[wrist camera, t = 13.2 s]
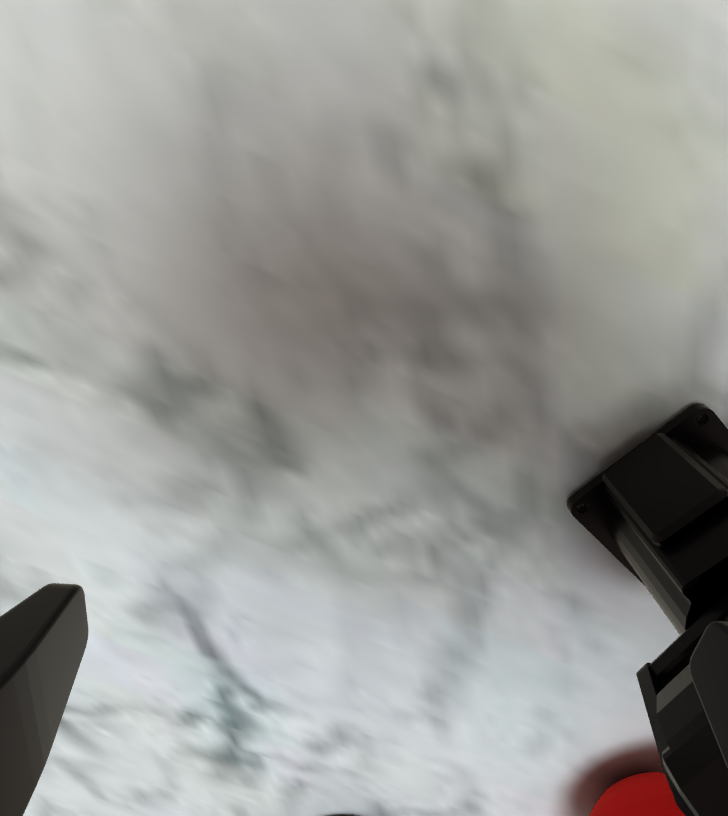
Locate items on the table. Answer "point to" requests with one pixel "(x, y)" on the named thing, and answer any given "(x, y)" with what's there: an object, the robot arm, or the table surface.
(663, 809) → the ornament
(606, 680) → the table surface
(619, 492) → the robot arm
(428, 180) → the table surface
